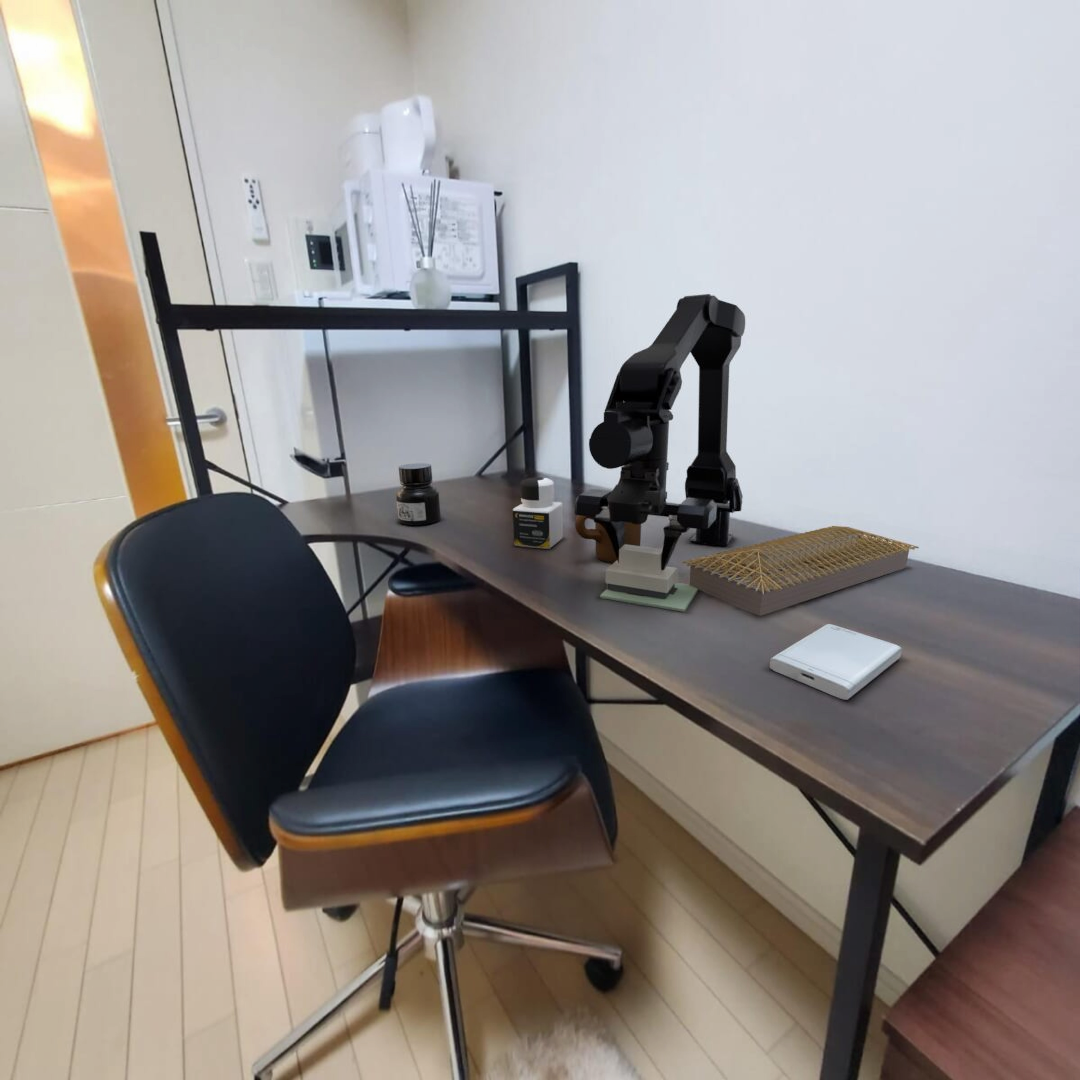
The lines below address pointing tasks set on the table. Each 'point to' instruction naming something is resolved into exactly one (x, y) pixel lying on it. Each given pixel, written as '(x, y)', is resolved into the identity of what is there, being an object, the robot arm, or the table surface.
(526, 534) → the medicine bottle
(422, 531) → the table surface
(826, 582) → the rafter model
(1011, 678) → the table surface
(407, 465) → the ink bottle
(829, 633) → the hard drive
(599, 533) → the mug
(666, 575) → the white stepped block
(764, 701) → the table surface
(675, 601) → the desk mat
